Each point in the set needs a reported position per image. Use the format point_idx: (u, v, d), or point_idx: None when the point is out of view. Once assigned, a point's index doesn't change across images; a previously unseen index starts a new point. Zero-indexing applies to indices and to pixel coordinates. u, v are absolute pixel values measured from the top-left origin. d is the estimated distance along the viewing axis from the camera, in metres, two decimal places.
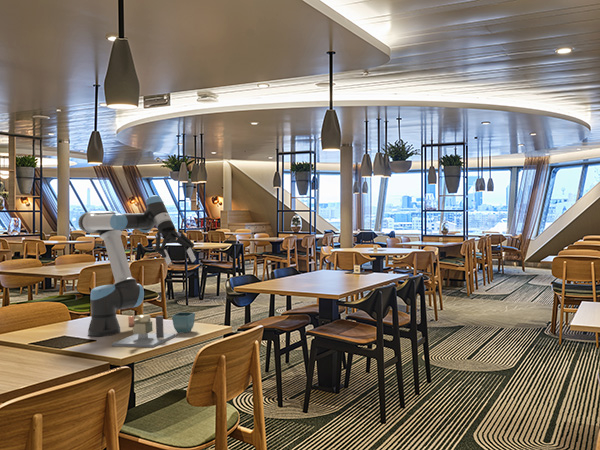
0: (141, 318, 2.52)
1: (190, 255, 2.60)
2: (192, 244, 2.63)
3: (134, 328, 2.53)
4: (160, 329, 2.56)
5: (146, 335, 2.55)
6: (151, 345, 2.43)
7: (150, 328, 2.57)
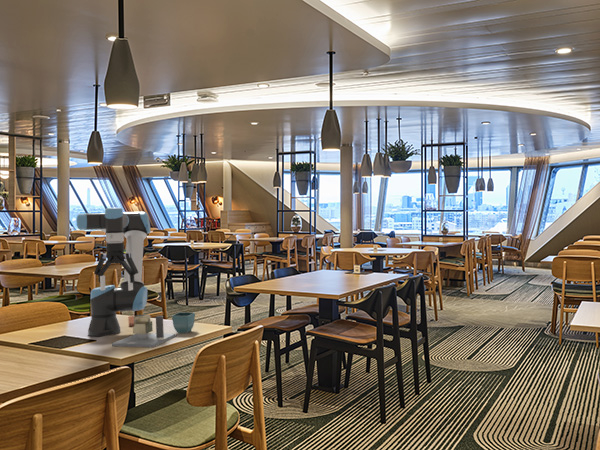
0: (141, 318, 2.52)
1: None
2: (133, 271, 2.44)
3: (134, 328, 2.53)
4: (160, 329, 2.56)
5: (146, 335, 2.55)
6: (151, 345, 2.43)
7: (150, 328, 2.57)
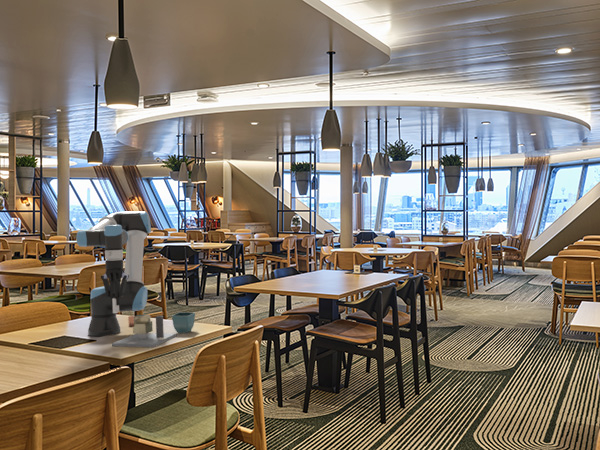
0: (141, 318, 2.52)
1: None
2: (120, 294, 2.45)
3: (134, 328, 2.53)
4: (160, 329, 2.56)
5: (146, 335, 2.55)
6: (151, 345, 2.43)
7: (150, 328, 2.57)
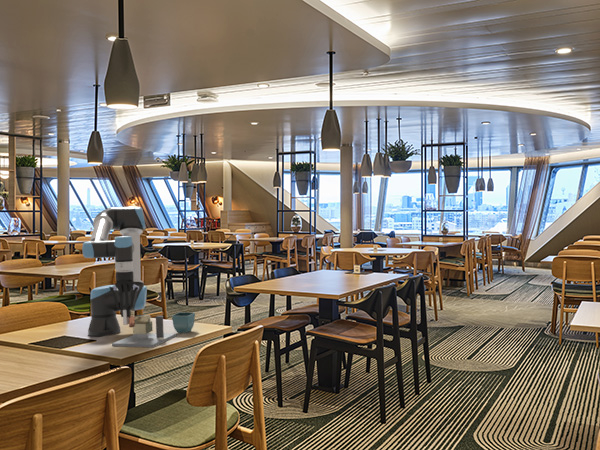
0: (141, 318, 2.52)
1: None
2: (131, 305, 2.45)
3: (134, 328, 2.53)
4: (160, 329, 2.56)
5: (146, 335, 2.55)
6: (151, 345, 2.43)
7: (150, 328, 2.57)
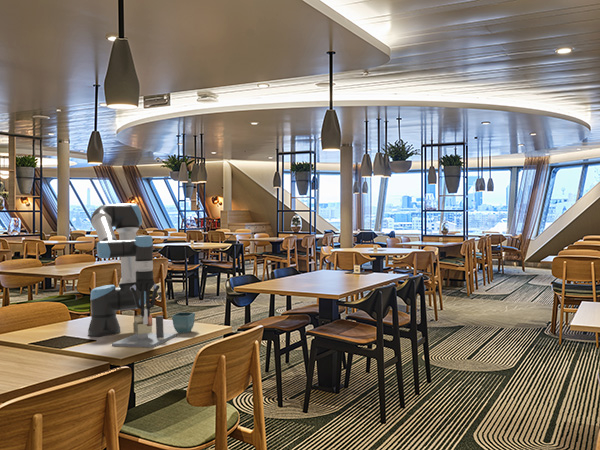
0: None
1: None
2: (152, 304, 2.47)
3: (139, 328, 2.52)
4: (160, 329, 2.56)
5: (146, 335, 2.55)
6: (151, 345, 2.43)
7: None
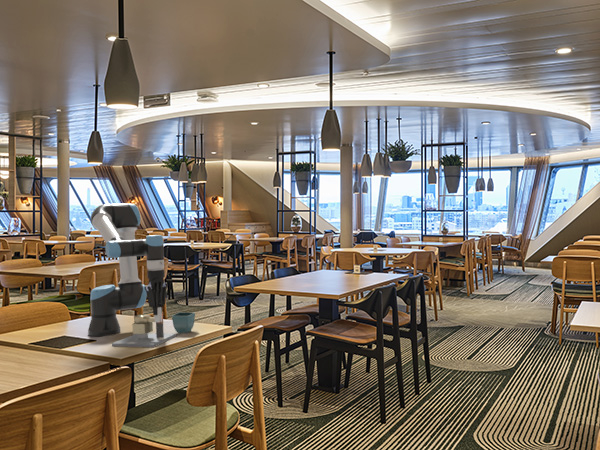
0: None
1: None
2: (164, 302, 2.53)
3: (145, 328, 2.53)
4: (160, 329, 2.56)
5: (146, 335, 2.55)
6: (151, 345, 2.43)
7: None
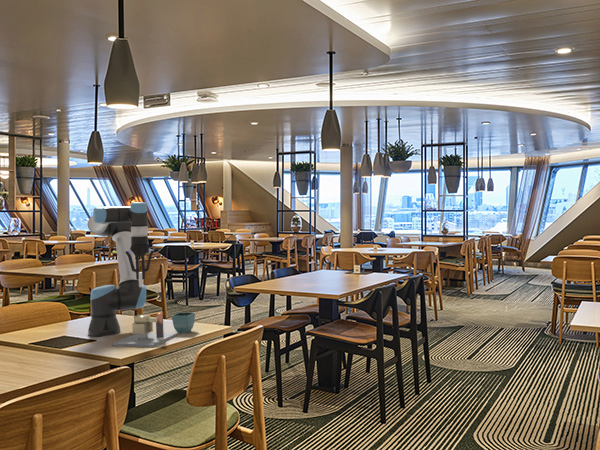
0: None
1: None
2: (147, 268, 2.58)
3: (145, 328, 2.53)
4: (160, 329, 2.56)
5: (146, 335, 2.55)
6: (151, 345, 2.43)
7: None
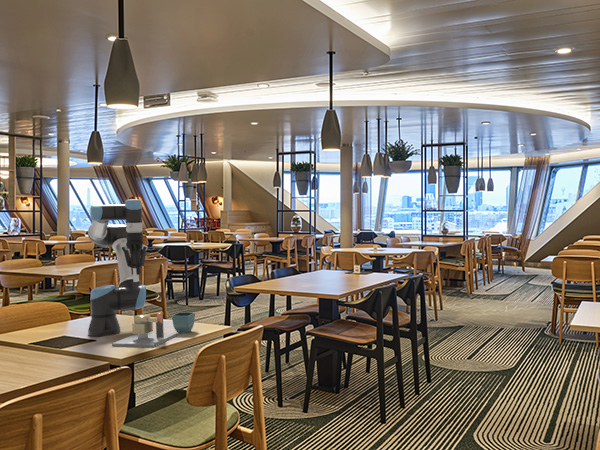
0: None
1: None
2: (140, 264, 2.63)
3: (145, 328, 2.53)
4: (160, 329, 2.56)
5: (146, 335, 2.55)
6: (151, 345, 2.43)
7: None
